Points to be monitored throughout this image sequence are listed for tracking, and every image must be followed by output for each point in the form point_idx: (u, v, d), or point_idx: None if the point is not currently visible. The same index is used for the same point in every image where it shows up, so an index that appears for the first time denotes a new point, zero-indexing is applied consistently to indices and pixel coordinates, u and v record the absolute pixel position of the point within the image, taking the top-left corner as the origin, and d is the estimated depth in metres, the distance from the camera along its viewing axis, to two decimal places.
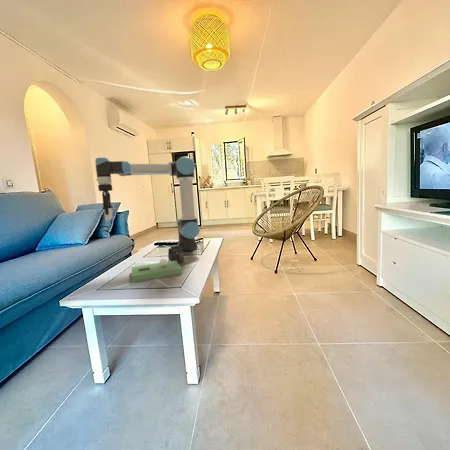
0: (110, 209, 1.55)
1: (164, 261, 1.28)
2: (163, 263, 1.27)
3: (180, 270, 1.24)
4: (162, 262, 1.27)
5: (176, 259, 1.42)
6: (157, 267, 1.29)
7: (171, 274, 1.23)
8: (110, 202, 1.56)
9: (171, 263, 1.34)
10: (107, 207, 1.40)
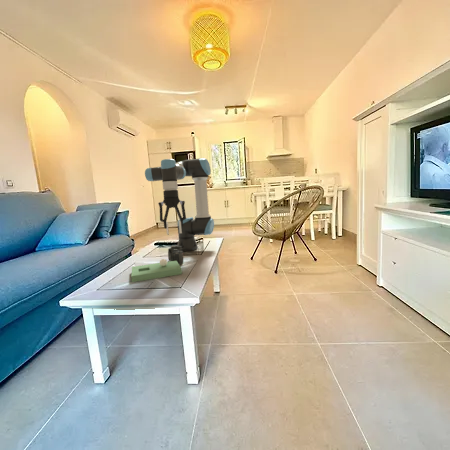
0: (179, 222, 1.29)
1: (164, 261, 1.28)
2: (163, 263, 1.27)
3: (180, 270, 1.24)
4: (162, 262, 1.27)
5: (176, 259, 1.42)
6: (157, 267, 1.29)
7: (171, 274, 1.23)
8: (183, 213, 1.29)
9: (171, 263, 1.34)
10: None
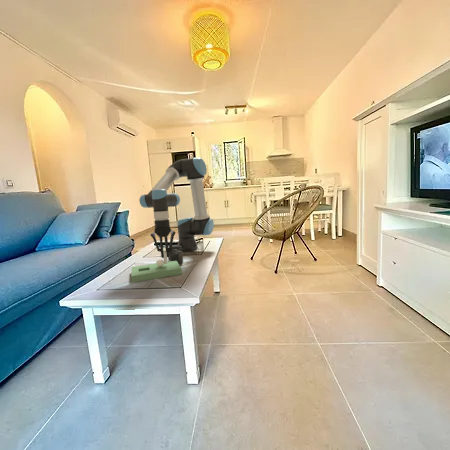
0: None
1: (159, 262, 1.27)
2: (160, 264, 1.27)
3: (180, 270, 1.24)
4: (158, 264, 1.27)
5: (175, 259, 1.42)
6: (157, 267, 1.29)
7: (171, 274, 1.23)
8: (170, 243, 1.28)
9: (171, 263, 1.34)
10: (157, 250, 1.27)
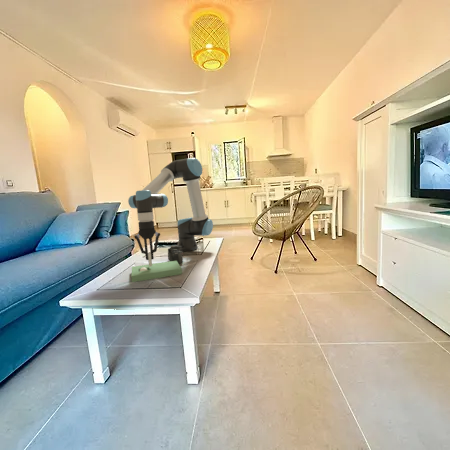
0: None
1: (145, 270, 1.25)
2: None
3: (180, 270, 1.24)
4: (143, 270, 1.24)
5: (175, 259, 1.42)
6: (157, 267, 1.29)
7: (171, 274, 1.23)
8: (155, 245, 1.26)
9: (171, 263, 1.34)
10: None
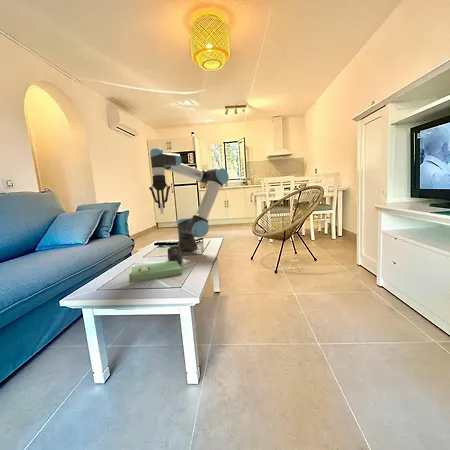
0: None
1: None
2: None
3: (180, 270, 1.24)
4: (144, 270, 1.24)
5: (175, 259, 1.42)
6: (157, 267, 1.29)
7: (171, 274, 1.23)
8: (166, 196, 1.50)
9: (171, 263, 1.34)
10: None
